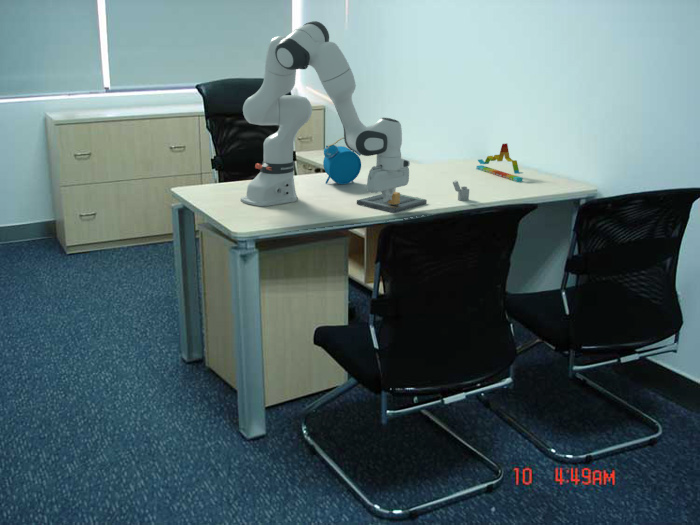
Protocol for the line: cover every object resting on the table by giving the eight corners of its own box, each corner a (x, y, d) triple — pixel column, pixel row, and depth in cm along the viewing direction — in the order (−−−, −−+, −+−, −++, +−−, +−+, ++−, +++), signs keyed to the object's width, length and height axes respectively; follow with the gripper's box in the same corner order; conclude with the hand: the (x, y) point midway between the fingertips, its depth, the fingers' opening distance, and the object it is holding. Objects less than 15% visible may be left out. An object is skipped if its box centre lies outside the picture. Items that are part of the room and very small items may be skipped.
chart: (475, 169, 355) (478, 137, 350) (481, 169, 356) (483, 137, 351) (516, 182, 329) (519, 148, 324) (522, 182, 330) (525, 148, 326)
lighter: (466, 198, 297) (467, 178, 295) (468, 199, 296) (470, 179, 293) (451, 200, 294) (452, 180, 292) (453, 201, 293) (455, 181, 290)
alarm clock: (353, 179, 327) (354, 133, 320) (364, 184, 318) (365, 137, 312) (317, 182, 320) (318, 135, 313) (327, 187, 311) (328, 139, 305)
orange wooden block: (394, 204, 278) (395, 194, 276) (388, 203, 280) (388, 192, 278) (399, 203, 280) (400, 192, 279) (393, 201, 282) (393, 191, 281)
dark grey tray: (393, 212, 274) (394, 208, 274) (356, 204, 286) (356, 200, 285) (426, 203, 289) (426, 199, 288) (389, 195, 300) (389, 191, 299)
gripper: (376, 168, 263) (375, 207, 267) (412, 161, 277) (411, 197, 281) (363, 165, 266) (362, 204, 271) (399, 158, 281) (397, 195, 285)
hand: (387, 200), depth 276 cm, fingers closed
